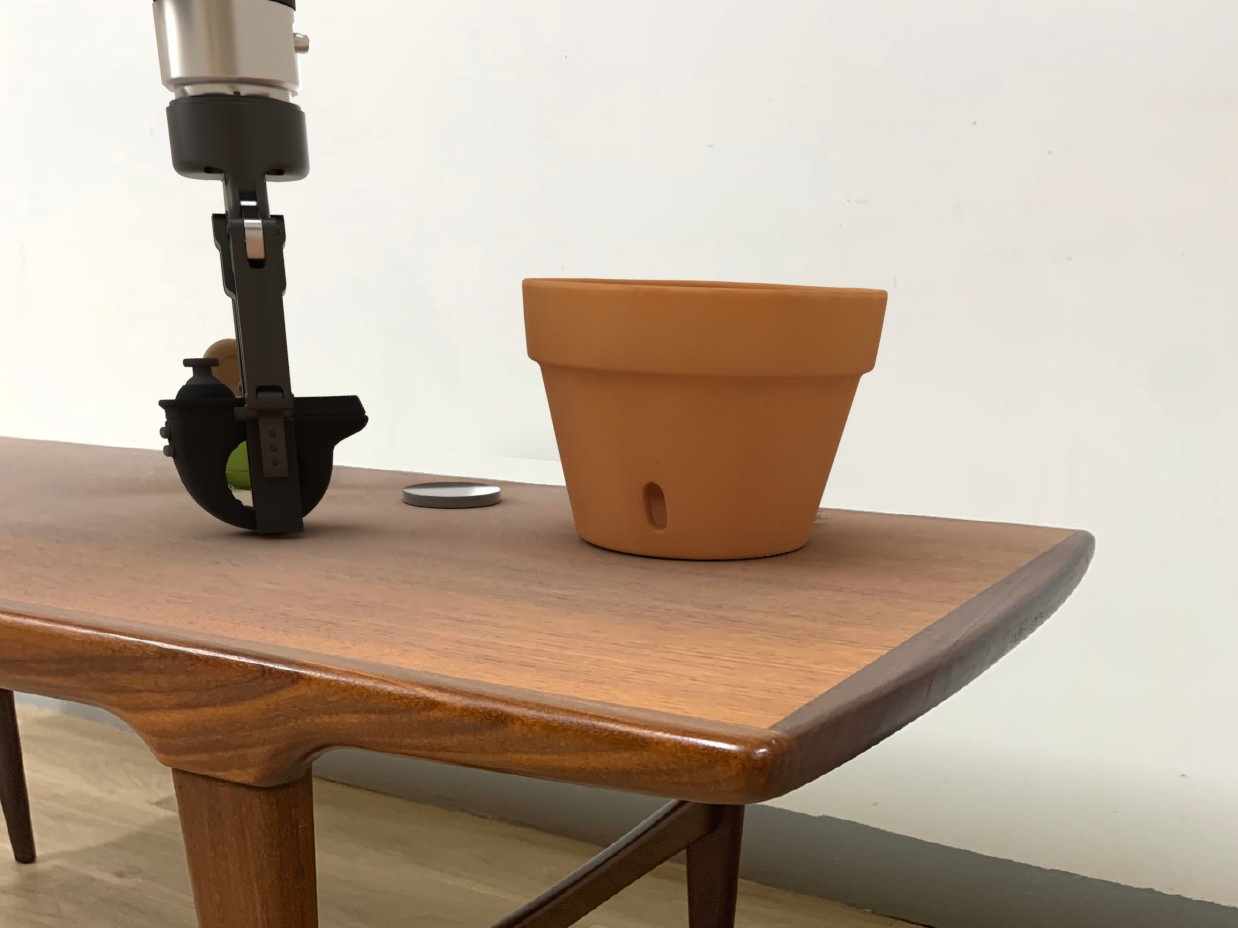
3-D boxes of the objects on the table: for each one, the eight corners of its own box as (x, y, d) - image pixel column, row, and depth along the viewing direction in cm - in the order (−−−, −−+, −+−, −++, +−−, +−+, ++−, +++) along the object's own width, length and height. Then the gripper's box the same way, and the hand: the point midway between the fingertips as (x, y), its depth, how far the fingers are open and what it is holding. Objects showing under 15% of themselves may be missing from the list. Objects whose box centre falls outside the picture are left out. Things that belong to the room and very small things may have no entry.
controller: (169, 533, 81) (145, 360, 77) (363, 520, 86) (348, 358, 83) (182, 538, 77) (158, 357, 74) (384, 524, 83) (369, 355, 79)
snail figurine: (310, 488, 98) (296, 315, 93) (228, 496, 94) (210, 315, 89) (277, 480, 101) (262, 312, 97) (197, 486, 98) (178, 313, 93)
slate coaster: (410, 509, 90) (410, 497, 90) (396, 494, 96) (395, 483, 96) (510, 506, 92) (510, 494, 92) (489, 491, 98) (489, 480, 98)
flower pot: (930, 541, 83) (957, 285, 77) (721, 592, 68) (735, 282, 62) (676, 500, 95) (682, 279, 89) (455, 536, 81) (445, 275, 75)
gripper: (317, 79, 66) (354, 545, 75) (293, 121, 82) (326, 502, 91) (160, 71, 64) (218, 552, 73) (167, 116, 80) (214, 507, 89)
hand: (278, 524), depth 82 cm, fingers closed on controller, 5 cm apart
